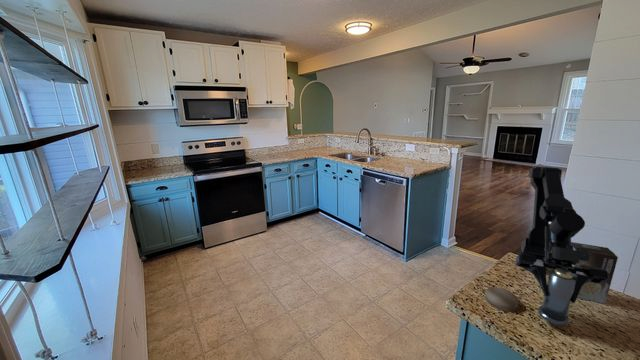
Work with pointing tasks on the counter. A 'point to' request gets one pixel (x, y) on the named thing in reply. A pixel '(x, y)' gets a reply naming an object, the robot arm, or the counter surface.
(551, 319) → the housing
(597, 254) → the coffee box
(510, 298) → the stand
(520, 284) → the counter surface
